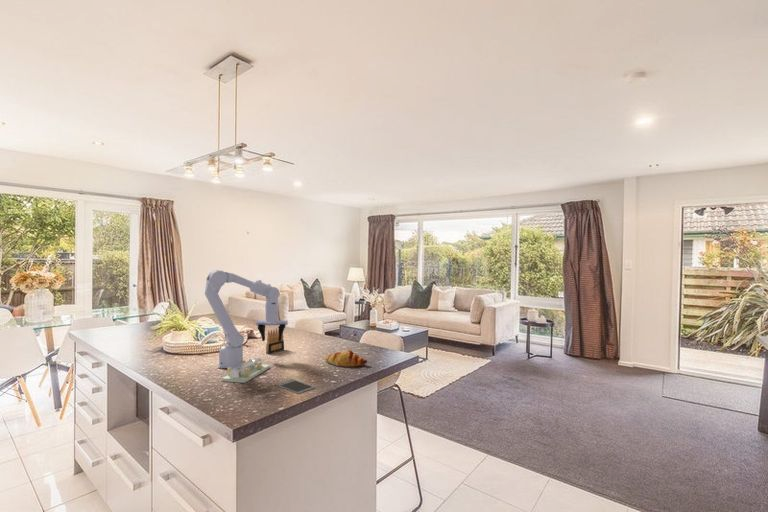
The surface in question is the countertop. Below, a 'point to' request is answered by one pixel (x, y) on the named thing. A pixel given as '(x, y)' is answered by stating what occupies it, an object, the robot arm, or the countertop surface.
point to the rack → (246, 373)
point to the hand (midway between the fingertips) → (271, 340)
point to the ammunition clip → (274, 342)
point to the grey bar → (240, 369)
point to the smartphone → (295, 386)
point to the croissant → (345, 359)
